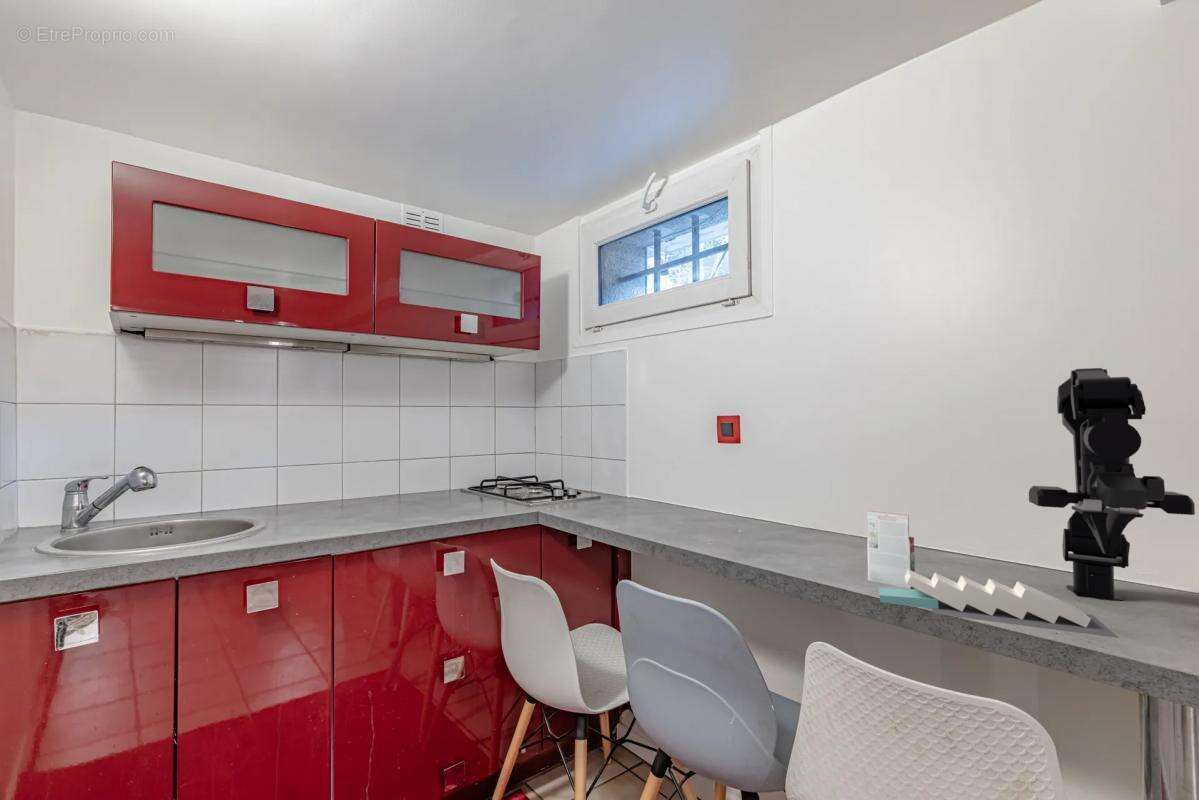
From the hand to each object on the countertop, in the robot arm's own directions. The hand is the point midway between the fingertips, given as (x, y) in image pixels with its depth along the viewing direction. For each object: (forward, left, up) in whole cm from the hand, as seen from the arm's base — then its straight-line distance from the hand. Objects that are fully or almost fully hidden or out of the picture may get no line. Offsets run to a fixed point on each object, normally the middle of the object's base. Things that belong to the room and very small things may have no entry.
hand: (1107, 553), depth 87 cm
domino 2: (0, -20, -11) cm, 22 cm away
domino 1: (0, -23, -11) cm, 26 cm away
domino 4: (0, -11, -11) cm, 16 cm away
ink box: (-11, -30, -12) cm, 34 cm away
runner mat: (0, -12, -12) cm, 17 cm away
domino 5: (0, -7, -11) cm, 13 cm away
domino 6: (0, -3, -11) cm, 11 cm away
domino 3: (0, -15, -11) cm, 19 cm away
